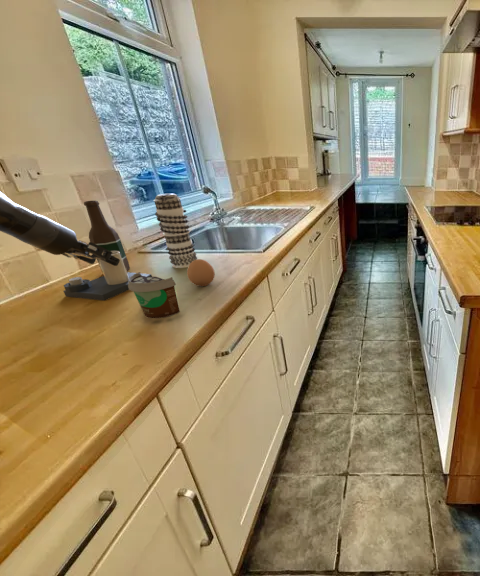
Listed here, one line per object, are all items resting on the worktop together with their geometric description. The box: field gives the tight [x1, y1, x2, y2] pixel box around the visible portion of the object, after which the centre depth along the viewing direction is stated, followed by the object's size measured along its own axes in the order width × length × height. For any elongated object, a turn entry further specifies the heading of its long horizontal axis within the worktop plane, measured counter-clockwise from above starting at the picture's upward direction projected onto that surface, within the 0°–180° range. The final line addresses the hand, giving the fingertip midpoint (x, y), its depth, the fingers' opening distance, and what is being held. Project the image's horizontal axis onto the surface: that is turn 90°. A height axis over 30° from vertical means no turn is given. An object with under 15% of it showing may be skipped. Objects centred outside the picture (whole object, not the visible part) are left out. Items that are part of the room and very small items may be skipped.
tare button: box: [68, 276, 84, 285], centre depth 92 cm, size 3×3×2 cm
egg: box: [186, 258, 216, 287], centre depth 98 cm, size 7×7×8 cm
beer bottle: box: [83, 200, 131, 272], centre depth 106 cm, size 8×8×24 cm
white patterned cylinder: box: [152, 193, 198, 269], centre depth 112 cm, size 9×9×25 cm
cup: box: [97, 251, 129, 285], centre depth 96 cm, size 5×5×9 cm
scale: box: [62, 271, 153, 301], centre depth 97 cm, size 14×16×4 cm
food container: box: [128, 272, 181, 319], centre depth 80 cm, size 12×6×10 cm, turn 71°
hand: (105, 262), depth 94 cm, fingers open, 8 cm apart
